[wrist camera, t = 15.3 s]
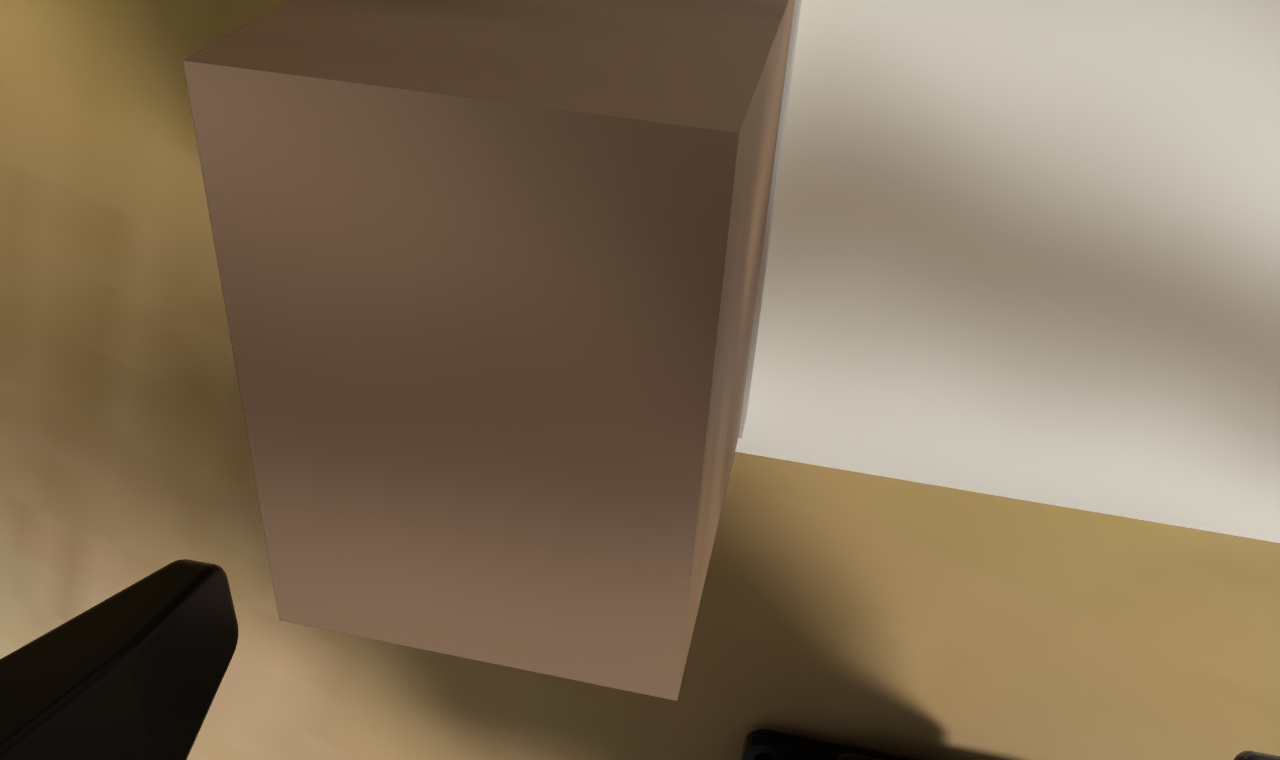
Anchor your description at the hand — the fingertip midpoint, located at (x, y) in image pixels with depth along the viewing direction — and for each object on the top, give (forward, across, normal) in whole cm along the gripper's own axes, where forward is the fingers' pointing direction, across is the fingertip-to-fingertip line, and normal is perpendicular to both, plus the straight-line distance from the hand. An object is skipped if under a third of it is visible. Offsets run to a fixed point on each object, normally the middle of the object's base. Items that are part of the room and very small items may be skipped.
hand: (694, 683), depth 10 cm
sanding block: (+8, +3, -1) cm, 9 cm away
